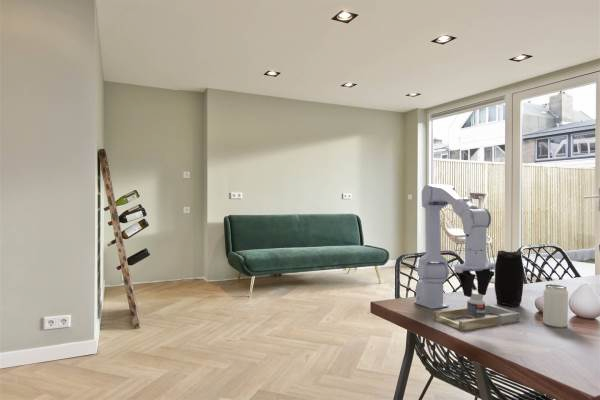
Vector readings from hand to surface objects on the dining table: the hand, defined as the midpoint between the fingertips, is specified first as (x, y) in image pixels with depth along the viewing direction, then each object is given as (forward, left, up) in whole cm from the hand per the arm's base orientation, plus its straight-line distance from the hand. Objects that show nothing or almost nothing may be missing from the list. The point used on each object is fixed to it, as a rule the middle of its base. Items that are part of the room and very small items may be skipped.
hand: (474, 295), depth 121 cm
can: (+6, +28, -11) cm, 31 cm away
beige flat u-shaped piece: (-7, +4, -10) cm, 13 cm away
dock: (-7, +18, -10) cm, 22 cm away
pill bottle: (-7, +9, -11) cm, 15 cm away
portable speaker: (-16, +35, -11) cm, 40 cm away
